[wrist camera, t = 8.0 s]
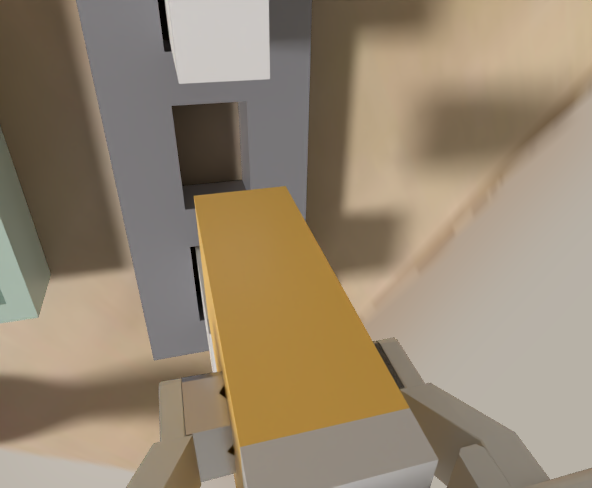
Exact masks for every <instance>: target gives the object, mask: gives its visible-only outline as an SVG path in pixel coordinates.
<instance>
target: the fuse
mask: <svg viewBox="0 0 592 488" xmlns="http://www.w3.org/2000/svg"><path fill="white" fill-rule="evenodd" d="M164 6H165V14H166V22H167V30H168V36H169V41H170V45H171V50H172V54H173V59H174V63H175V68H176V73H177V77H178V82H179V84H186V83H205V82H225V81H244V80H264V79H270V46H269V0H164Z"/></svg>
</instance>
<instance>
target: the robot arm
mask: <svg viewBox="0 0 592 488" xmlns="http://www.w3.org/2000/svg"><path fill="white" fill-rule="evenodd" d="M373 343H374V345H375V347H376V349H377V350H378V352H379V354H380V356H381V357H382V359H383V361H384V363H385V365H386V366H387V368H388V370H389V372H390V374H391V375H392V377H393V379H394V381H395V383H396V384H397V386H398V388H399V390H400V391H401V393H402V395H403V397H404V399H405V400H406V402H407V404H408V406H409V408H410V409H411V411H412V413H413V415H414V417H415V418H416V420H417V422H418V424H419V425H420V427H421V429H422V431H423V433H424V434H425V436H426V438H427V440H428V442H429V443H430V445H431V447H432V449H433V450H434V452H435V454H436V456H437V458H438V459H439V460H438V463H437V466H436V470H435V473H434V475H435V476H436V477H437V478H438V479H439V480H441V481H442V482H443V483H444V484H445V485H447V488H592V468H589V469H586V470H583V471H579V472H575V473H572V474H568V475H565V476H561V477H558V478H554V479H551V480H550V479H549V477H548V476H547V474H546V473H545V472H544V470H543V469H542V468H541V466H540V465H539V464H538V463H537V461H536V460H535V458H534V457H533V456H532V454H531V453H530V452H529V450H528V449H527V448H526V446H525V445H524V444H523V442H522V441H521V439H520V438H519V437H518V435H517V434H516V433H515V432H513V431H512V430H510V429H508V428H507V427H505V426H503V425H501V424H500V423H498V422H496V421H495V420H493V419H491V418H490V417H488V416H486V415H484V414H483V413H481V412H479V411H478V410H476V409H474V408H473V407H471V406H469V405H467V404H466V403H464V402H462V401H461V400H459V399H457V398H455V397H454V396H452V395H450V394H449V393H447V392H445V391H444V390H442V389H440V388H438V387H437V386H435V385H433V384H432V383H426V384H425V383H424V381H423V380H422V378H421V376H420V375H419V373H418V372H417V370H416V369H415V367H414V365H413V364H412V362H411V361H410V359H409V357H408V356H407V354H406V353H405V351H404V350H403V348H402V346H401V345H400V343H399V342H398V340H397V339H395V338H394V337H393V338H388V339H383V340H378V341H373ZM159 421H160V442H157V443H154V444H153V445H152V447H151V448H150V450H149V452H148V453H147V455H146V456H145V458H144V460H143V461H142V463H141V464H140V466H139V468H138V469H137V471H136V472H135V474H134V476H133V477H132V479H131V480H130V482H129V484H128V485H127V487H126V488H200V486H201V482H204V481H208V480H211V479H215V478H219V477H222V476H226V475H230V474H234V473H236V467H235V457H234V451H233V437H232V427H231V420H230V414H229V409H228V403H227V399H226V396H225V387H224V380H223V375H222V371H220V372H214V373H208V374H202V375H196V376H190V377H184V378H179V379H173V380H168V381H162V382H160V383H159Z"/></svg>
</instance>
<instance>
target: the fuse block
mask: <svg viewBox="0 0 592 488" xmlns="http://www.w3.org/2000/svg"><path fill="white" fill-rule="evenodd" d="M76 3H77V7H78V12H79V17H80V21H81V26H82V31H83V35H84V40H85V44H86V49H87V54H88V58H89V63H90V67H91V72H92V77H93V81H94V86H95V91H96V95H97V100H98V104H99V109H100V114H101V118H102V123H103V127H104V132H105V137H106V141H107V146H108V151H109V155H110V160H111V164H112V169H113V174H114V178H115V183H116V187H117V192H118V197H119V201H120V206H121V210H122V215H123V220H124V224H125V229H126V234H127V238H128V243H129V247H130V252H131V257H132V261H133V266H134V270H135V275H136V280H137V284H138V289H139V294H140V298H141V303H142V307H143V312H144V317H145V321H146V326H147V330H148V335H149V340H150V344H151V349H152V354H153V358H154V360H159V359H165V358H170V357H176V356H181V355H187V354H193V353H198V352H204V351H209V345H208V338H207V332H206V325H205V319H204V312H203V305H202V299H201V292H200V291H199V292H196V288H195V281H194V273H193V265H192V258H191V250H190V247H194V246H200V245H199V237H198V228H197V220H196V211H195V203H194V196H197V195H206V194H215V193H225V192H234V191H244V190H253V189H263V188H272V187H281V186H286V188H287V189H288V191H289V193H290V195H291V197H292V198H293V200H294V202H295V204H296V205H297V207H298V209H299V211H300V213H301V214H302V216H303V218H304V220H305V222H306V194H307V160H308V125H309V90H310V56H311V21H312V0H269V46H270V79H264V80H244V81H225V82H205V83H186V84H179V82H178V77H177V73H176V68H175V63H174V59H173V54H172V50H171V45H170V41H169V40H163V38H162V30H161V23H160V15H159V8H158V0H76ZM226 102H238V110H239V129H240V147H241V166H242V180H237V181H227V182H217V183H207V184H197V185H187V186H182V182H181V174H180V167H179V159H178V152H177V144H176V137H175V129H174V121H173V114H172V106H177V105H194V104H210V103H226Z"/></svg>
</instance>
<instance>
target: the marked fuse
mask: <svg viewBox="0 0 592 488" xmlns="http://www.w3.org/2000/svg"><path fill="white" fill-rule="evenodd" d="M194 203H195V211H196V220H197V228H198V237H199V245H200V253H201V262H202V270H203V279H204V287H205V296H206V304H207V312H208V319H209V325H210V331H211V337H212V344H213V350H214V356H215V362H216V368H217V372H220V371H222V375H223V380H224V387H225V396H226V399H227V403H228V409H229V414H230V420H231V427H232V437H233V451H234V457H235V467H236V473H234V478H235V484H236V488H430V486H431V482H432V479H433V476H434V473H435V470H436V466H437V463H438V460H439V459H438V458H437V456H436V454H435V452H434V450H433V449H432V447H431V445H430V443H429V442H428V440H427V438H426V436H425V434H424V433H423V431H422V429H421V427H420V425H419V424H418V422H417V420H416V418H415V417H414V415H413V413H412V411H411V409H410V408H409V406H408V404H407V402H406V400H405V399H404V397H403V395H402V393H401V391H400V390H399V388H398V386H397V384H396V383H395V381H394V379H393V377H392V375H391V374H390V372H389V370H388V368H387V366H386V365H385V363H384V361H383V359H382V357H381V356H380V354H379V352H378V350H377V349H376V347H375V345H374V343H373V341H372V340H371V338H370V336H369V334H368V332H367V331H366V329H365V327H364V325H363V324H362V322H361V320H360V318H359V316H358V315H357V313H356V311H355V309H354V307H353V306H352V304H351V302H350V300H349V298H348V297H347V295H346V293H345V291H344V290H343V288H342V286H341V284H340V282H339V281H338V279H337V277H336V275H335V273H334V272H333V270H332V268H331V266H330V265H329V263H328V261H327V259H326V257H325V256H324V254H323V252H322V250H321V248H320V247H319V245H318V243H317V241H316V239H315V238H314V236H313V234H312V232H311V231H310V229H309V227H308V225H307V223H306V222H305V220H304V218H303V216H302V214H301V213H300V211H299V209H298V207H297V205H296V204H295V202H294V200H293V198H292V197H291V195H290V193H289V191H288V189H287V188H286V186H281V187H272V188H263V189H253V190H244V191H234V192H225V193H215V194H206V195H197V196H194Z"/></svg>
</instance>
